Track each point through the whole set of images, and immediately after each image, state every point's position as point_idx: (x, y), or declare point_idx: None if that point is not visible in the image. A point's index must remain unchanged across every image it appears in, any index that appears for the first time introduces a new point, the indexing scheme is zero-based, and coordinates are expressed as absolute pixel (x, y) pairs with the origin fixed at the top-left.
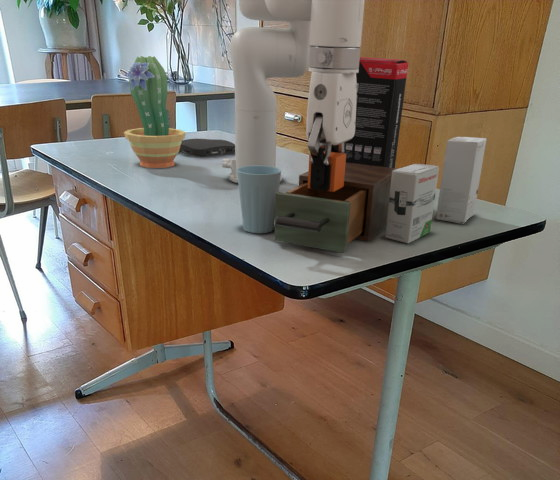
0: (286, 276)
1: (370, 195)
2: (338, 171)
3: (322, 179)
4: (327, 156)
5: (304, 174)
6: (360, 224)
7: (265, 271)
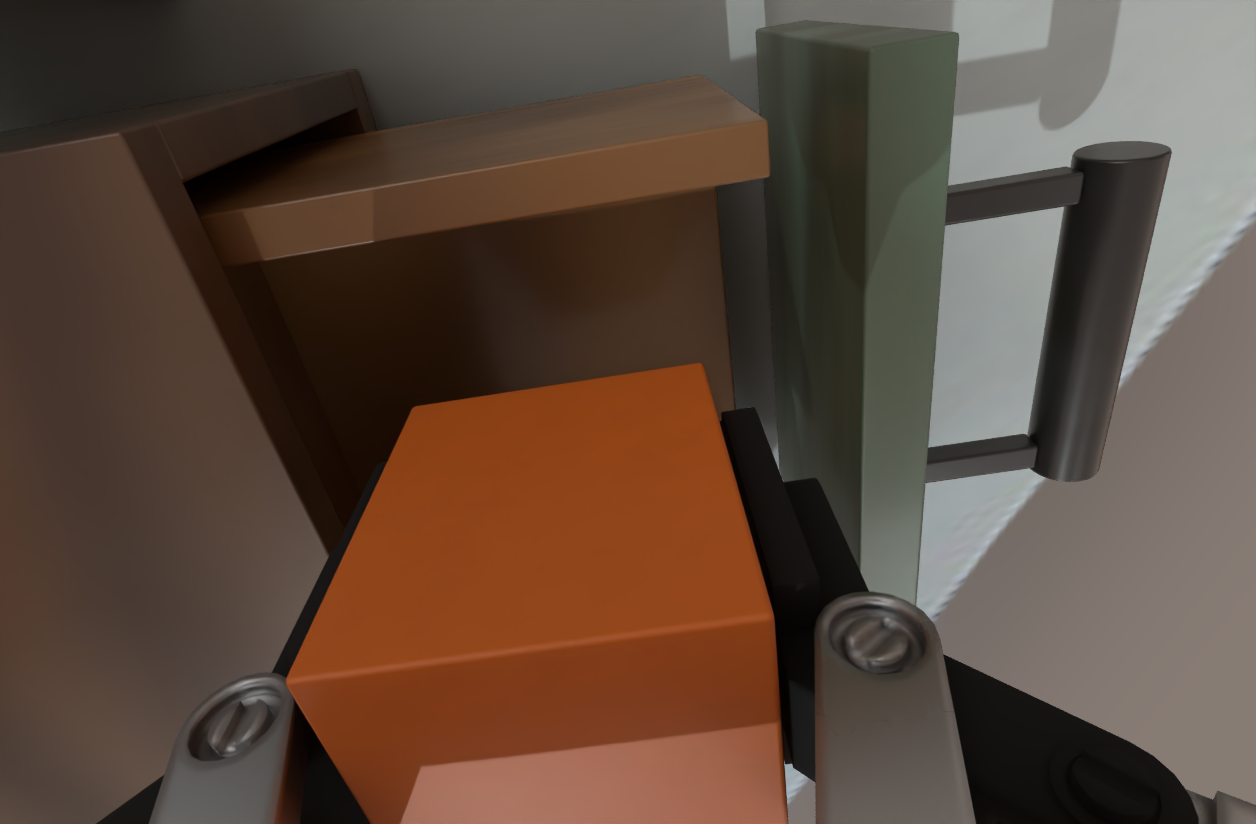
0: (1248, 140)
1: (205, 139)
2: (609, 488)
3: (827, 508)
4: (936, 698)
5: None
6: (384, 138)
7: (1200, 273)
